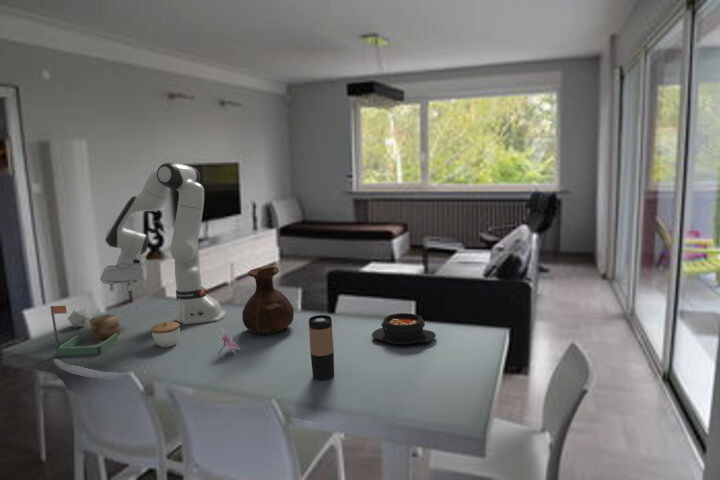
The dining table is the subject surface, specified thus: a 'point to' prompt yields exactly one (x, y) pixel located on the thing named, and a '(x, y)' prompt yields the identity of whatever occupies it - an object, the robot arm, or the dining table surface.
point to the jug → (266, 304)
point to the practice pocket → (78, 340)
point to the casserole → (403, 329)
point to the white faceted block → (79, 318)
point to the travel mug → (321, 347)
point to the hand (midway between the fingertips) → (119, 290)
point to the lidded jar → (166, 333)
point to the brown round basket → (104, 327)
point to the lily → (228, 342)
